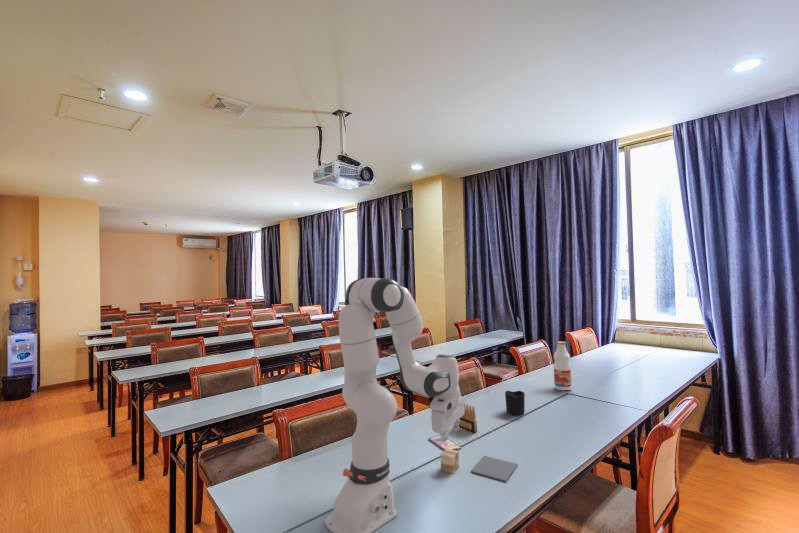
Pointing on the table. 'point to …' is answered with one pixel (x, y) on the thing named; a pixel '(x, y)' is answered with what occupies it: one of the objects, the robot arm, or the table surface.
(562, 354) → the fruit juice
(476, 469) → the mat
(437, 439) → the smartphone
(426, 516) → the table surface
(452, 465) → the maple block
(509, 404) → the pen holder
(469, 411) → the ammunition clip
